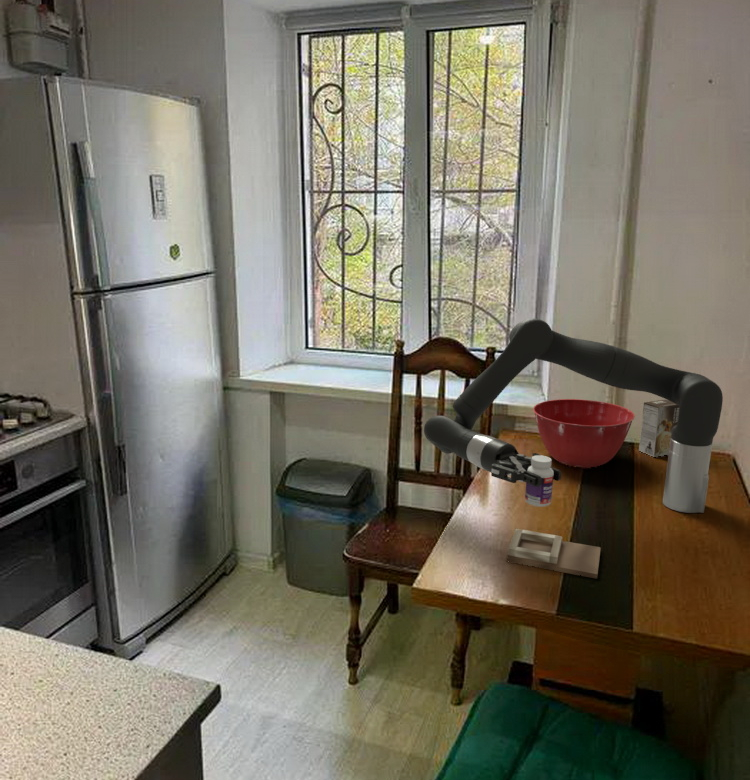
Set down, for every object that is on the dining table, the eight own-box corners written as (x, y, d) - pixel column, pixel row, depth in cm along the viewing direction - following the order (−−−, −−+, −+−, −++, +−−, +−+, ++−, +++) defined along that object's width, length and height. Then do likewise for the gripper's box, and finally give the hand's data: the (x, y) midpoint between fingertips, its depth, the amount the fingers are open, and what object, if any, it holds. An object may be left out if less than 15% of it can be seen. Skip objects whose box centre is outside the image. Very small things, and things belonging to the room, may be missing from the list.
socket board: (600, 551, 142) (601, 541, 142) (597, 578, 132) (598, 567, 131) (516, 536, 149) (516, 526, 148) (506, 561, 138) (507, 550, 137)
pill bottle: (546, 509, 135) (550, 465, 133) (521, 503, 138) (524, 459, 135) (554, 500, 140) (558, 457, 137) (529, 494, 142) (533, 452, 140)
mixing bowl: (514, 464, 194) (518, 413, 190) (549, 438, 216) (553, 393, 212) (613, 486, 178) (619, 431, 174) (639, 456, 201) (645, 407, 197)
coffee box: (659, 448, 209) (665, 398, 205) (676, 454, 203) (682, 404, 199) (637, 451, 205) (643, 401, 201) (653, 458, 199) (660, 407, 195)
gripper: (468, 444, 144) (527, 469, 130) (515, 433, 152) (575, 455, 138) (466, 476, 146) (524, 504, 132) (513, 463, 154) (571, 488, 140)
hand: (549, 479), depth 135 cm, fingers closed on pill bottle, 5 cm apart
